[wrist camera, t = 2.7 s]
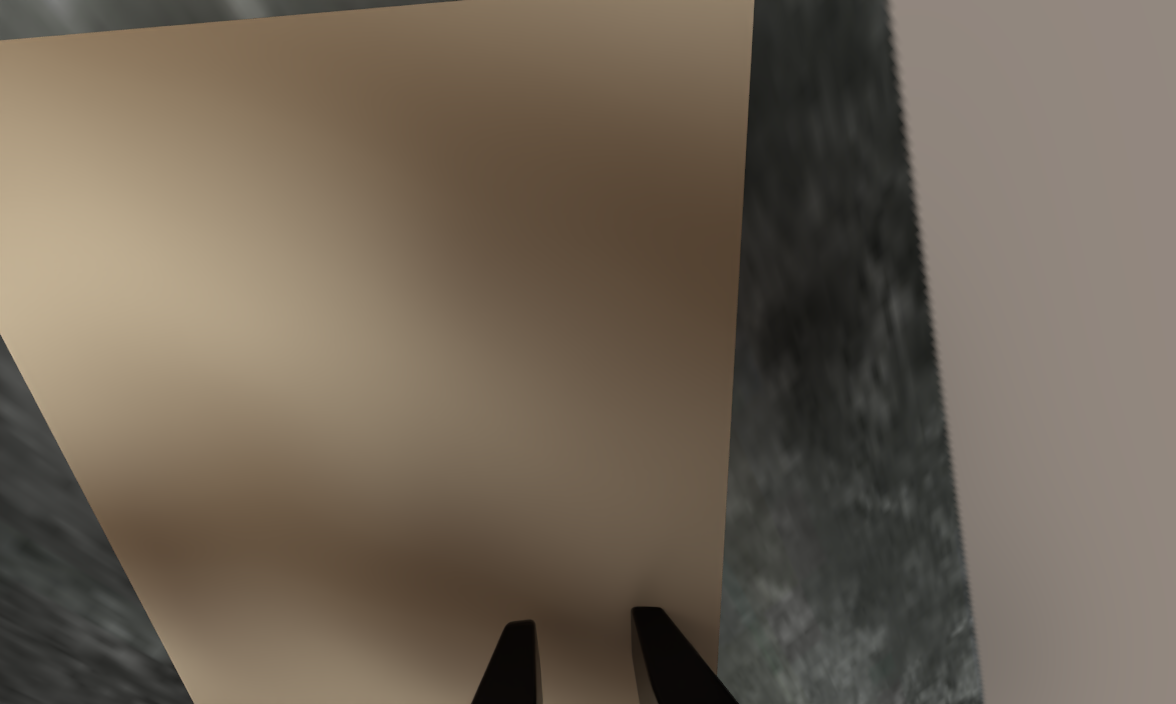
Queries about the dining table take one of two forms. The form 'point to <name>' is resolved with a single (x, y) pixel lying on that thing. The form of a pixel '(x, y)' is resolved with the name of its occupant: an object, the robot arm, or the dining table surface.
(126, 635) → the dining table surface
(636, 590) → the box lid
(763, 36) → the dining table surface
